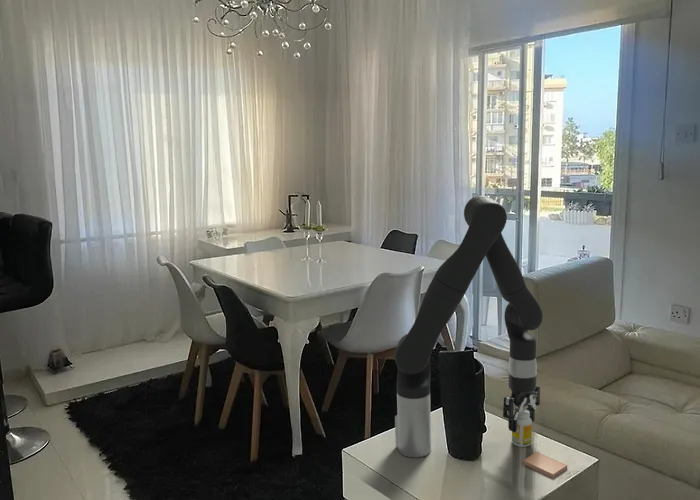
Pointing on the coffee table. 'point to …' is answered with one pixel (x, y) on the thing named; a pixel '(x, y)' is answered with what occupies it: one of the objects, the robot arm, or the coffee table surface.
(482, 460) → the coffee table surface
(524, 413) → the supplement bottle
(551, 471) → the tile
